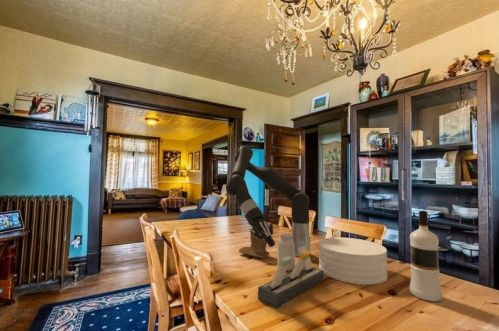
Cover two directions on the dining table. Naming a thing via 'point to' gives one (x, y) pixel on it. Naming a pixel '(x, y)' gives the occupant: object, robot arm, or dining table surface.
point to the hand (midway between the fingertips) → (272, 245)
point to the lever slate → (303, 248)
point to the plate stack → (353, 260)
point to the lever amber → (300, 264)
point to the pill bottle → (286, 250)
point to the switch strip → (290, 287)
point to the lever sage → (280, 271)
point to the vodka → (424, 262)
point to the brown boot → (256, 247)
